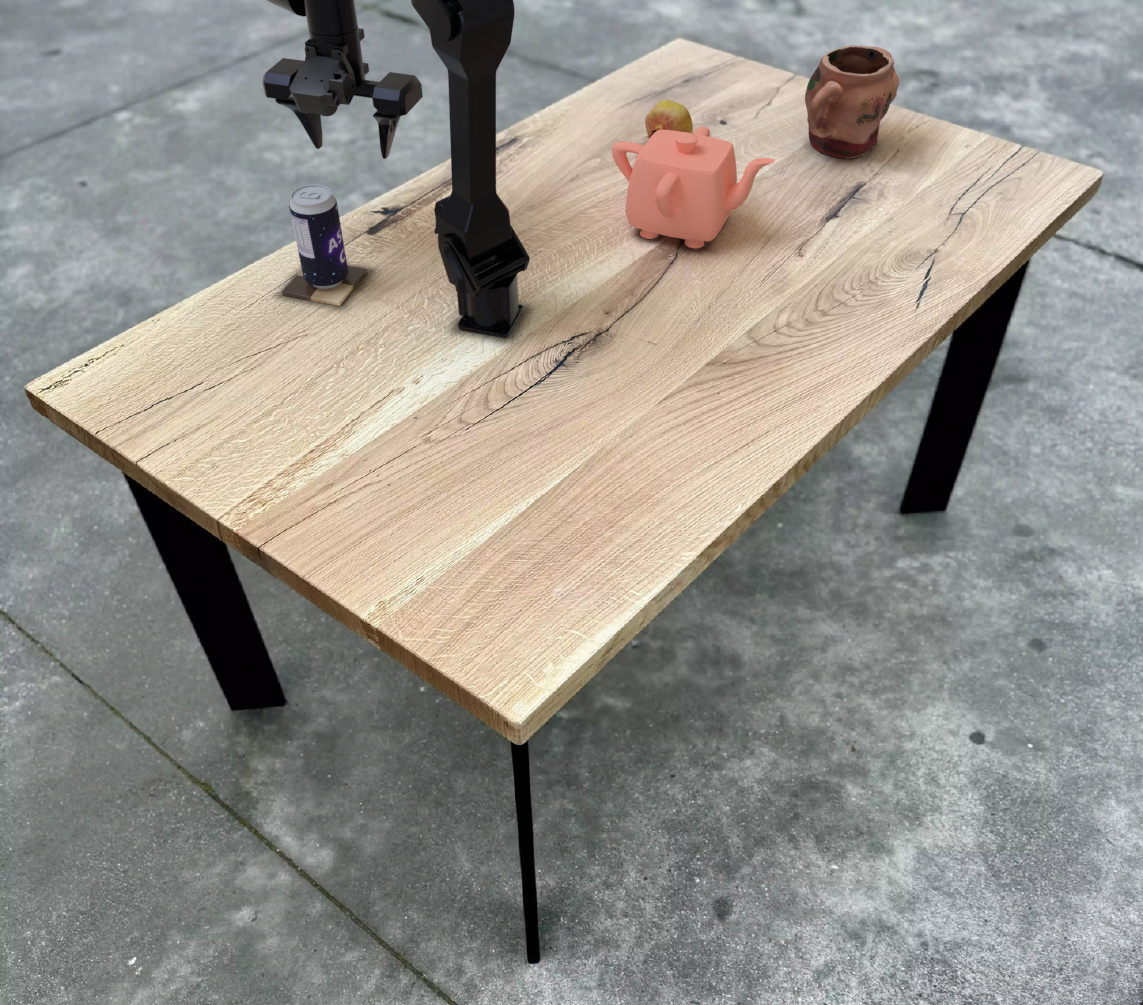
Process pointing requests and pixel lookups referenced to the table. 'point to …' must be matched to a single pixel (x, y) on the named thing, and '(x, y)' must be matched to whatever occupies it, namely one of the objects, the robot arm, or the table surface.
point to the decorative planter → (849, 99)
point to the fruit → (668, 118)
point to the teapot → (683, 184)
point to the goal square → (328, 296)
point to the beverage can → (318, 236)
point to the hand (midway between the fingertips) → (352, 152)
